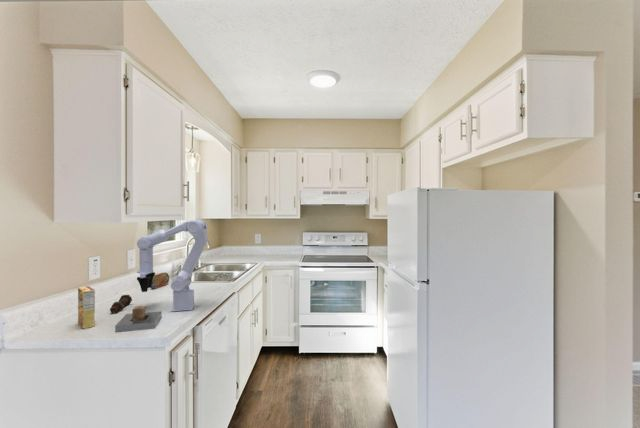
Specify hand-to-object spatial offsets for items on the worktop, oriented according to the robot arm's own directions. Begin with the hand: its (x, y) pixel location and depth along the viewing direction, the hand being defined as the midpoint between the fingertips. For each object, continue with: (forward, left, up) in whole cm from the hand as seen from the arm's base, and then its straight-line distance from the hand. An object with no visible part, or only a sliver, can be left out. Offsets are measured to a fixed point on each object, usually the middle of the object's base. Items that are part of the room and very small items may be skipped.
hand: (146, 289), depth 151 cm
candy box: (+19, +16, -10) cm, 27 cm away
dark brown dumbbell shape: (+13, -4, -10) cm, 17 cm away
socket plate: (-2, +21, -9) cm, 23 cm away
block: (-2, +21, -10) cm, 23 cm away
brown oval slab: (+3, -46, -10) cm, 47 cm away
